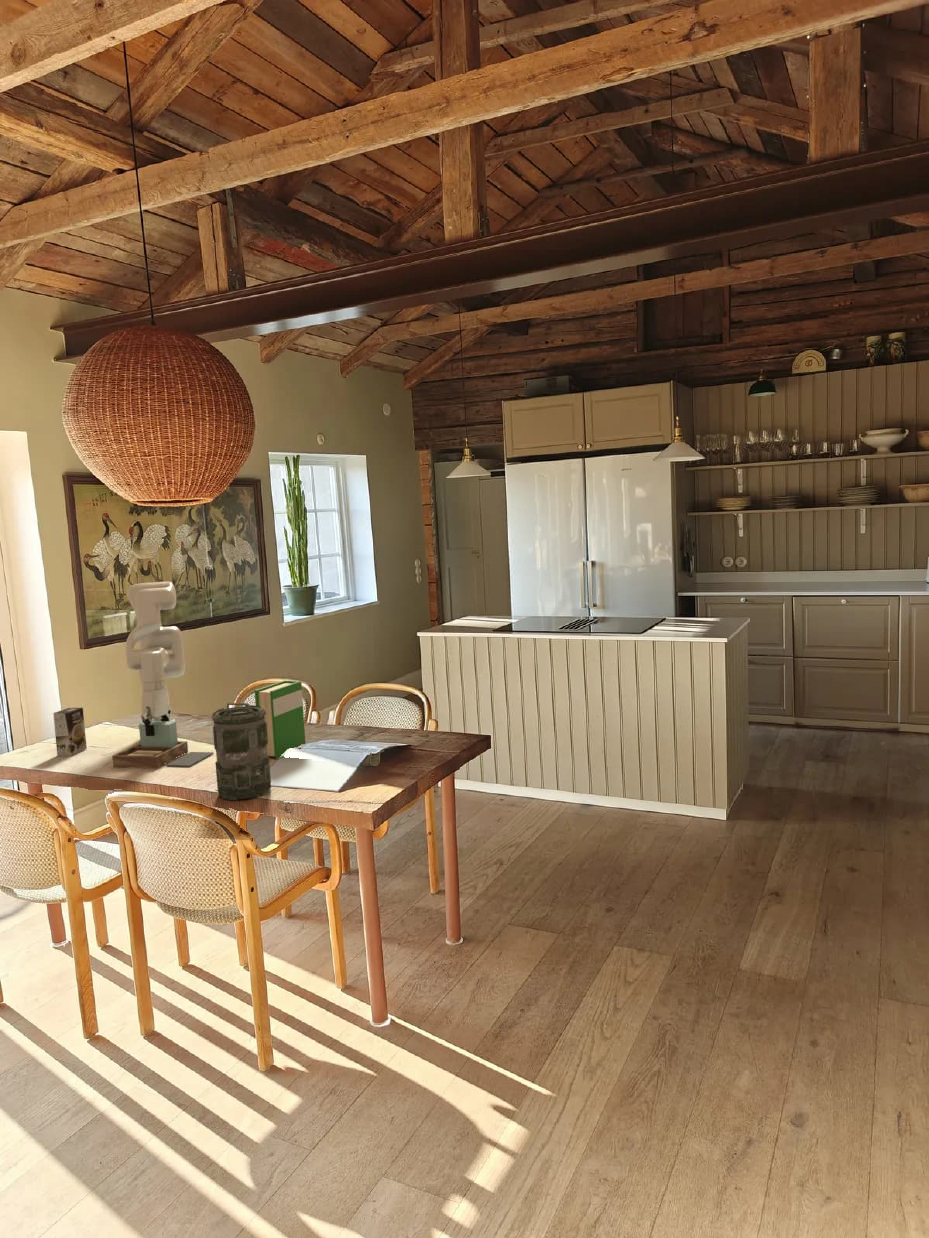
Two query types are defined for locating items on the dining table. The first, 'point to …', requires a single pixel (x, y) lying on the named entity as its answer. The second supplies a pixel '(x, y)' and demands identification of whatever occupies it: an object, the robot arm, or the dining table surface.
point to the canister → (241, 751)
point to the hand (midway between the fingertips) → (158, 732)
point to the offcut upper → (145, 753)
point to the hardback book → (282, 715)
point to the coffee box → (70, 731)
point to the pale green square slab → (159, 735)
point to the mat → (189, 759)
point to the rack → (148, 761)
